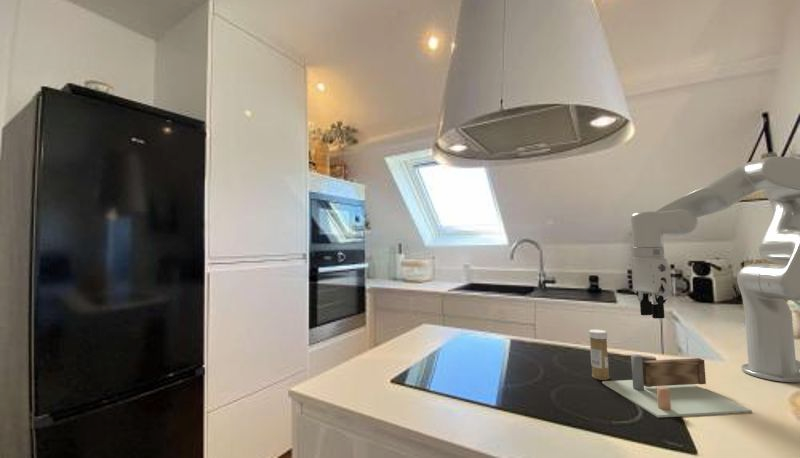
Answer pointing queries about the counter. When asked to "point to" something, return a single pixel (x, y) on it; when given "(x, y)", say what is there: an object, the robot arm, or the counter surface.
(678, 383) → the gate
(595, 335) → the sprinkles bottle
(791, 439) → the counter surface
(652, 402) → the gate frame
